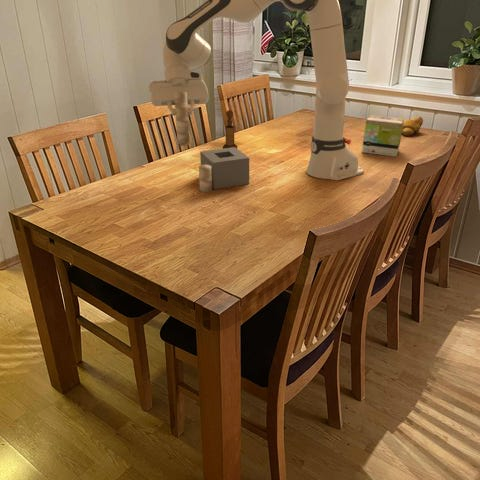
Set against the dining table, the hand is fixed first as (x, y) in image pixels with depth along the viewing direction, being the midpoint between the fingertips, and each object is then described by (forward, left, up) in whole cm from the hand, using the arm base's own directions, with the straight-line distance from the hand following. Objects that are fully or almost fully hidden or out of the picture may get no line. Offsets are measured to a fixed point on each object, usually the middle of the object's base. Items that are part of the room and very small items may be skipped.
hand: (182, 114), depth 164 cm
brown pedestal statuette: (-29, -28, -25) cm, 47 cm away
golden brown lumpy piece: (-121, -19, -25) cm, 126 cm away
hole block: (-14, +4, -25) cm, 29 cm away
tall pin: (0, -1, -11) cm, 11 cm away
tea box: (-90, -1, -25) cm, 94 cm away
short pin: (-4, +11, -25) cm, 28 cm away
